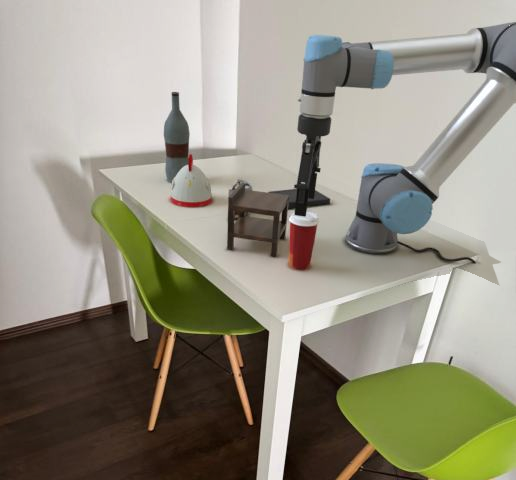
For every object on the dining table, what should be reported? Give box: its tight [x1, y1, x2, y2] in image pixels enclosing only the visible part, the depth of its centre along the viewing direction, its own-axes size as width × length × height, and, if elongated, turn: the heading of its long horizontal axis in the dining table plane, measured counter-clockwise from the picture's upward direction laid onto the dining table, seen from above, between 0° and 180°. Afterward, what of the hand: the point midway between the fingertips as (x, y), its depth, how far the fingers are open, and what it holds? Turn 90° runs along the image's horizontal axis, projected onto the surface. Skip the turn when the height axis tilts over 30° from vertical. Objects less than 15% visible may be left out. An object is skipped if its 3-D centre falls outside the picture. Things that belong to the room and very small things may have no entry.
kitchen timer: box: [170, 153, 213, 208], centre depth 170 cm, size 14×14×15 cm
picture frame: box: [267, 188, 331, 210], centre depth 179 cm, size 13×2×18 cm
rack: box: [226, 182, 289, 258], centre depth 142 cm, size 14×14×15 cm
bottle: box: [163, 91, 190, 184], centre depth 183 cm, size 9×9×30 cm
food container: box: [227, 178, 253, 221], centre depth 161 cm, size 12×6×10 cm, turn 168°
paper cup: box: [288, 211, 320, 271], centre depth 132 cm, size 8×8×14 cm
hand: (304, 206), depth 127 cm, fingers open, 13 cm apart
